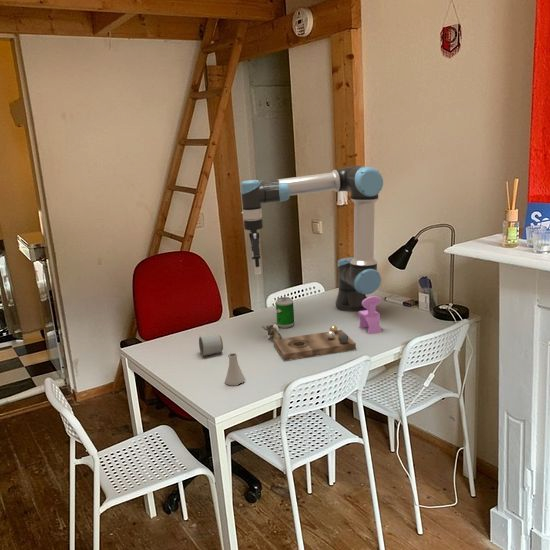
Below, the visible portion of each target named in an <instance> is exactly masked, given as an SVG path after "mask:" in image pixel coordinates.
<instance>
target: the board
mask: <svg viewBox="0 0 550 550" xmlns="http://www.w3.org/2000/svg"><path fill="white" fill-rule="evenodd" d="M328 332H329V331H325V332H319V333H318V332H317V333H311V334H304V335H297V336H292V337H291V336H290V337H284V338H282V339H276V340H274V342H273V346H274V348H275V349H276V351H277V353H278V354H279V353H280V354H279V355H280V357H281V358H282V360H283V359H284V360H286V361H291V360H290V359H292V360H297V359H296V358H299V359H303V358H311V357H317V355H318V356H323V355H330V353H331V354H336V353H341V352H343V353H344V352H349V350H350V351H355V350H354V349H356V348H357V347H356V346H357V345H356V342H355V341H354V340H353V339H352V338H351V337H350V336H348V341H347V342H346V343H341V342H340V341H339V339H338V337H339V335H340V334H342V333H345V332H344V330H342V329H337V332H336V333H335V337H334V338H333V339H329V338H328V337H327V333H328ZM356 350H357V349H356ZM284 360H283V361H284Z"/></svg>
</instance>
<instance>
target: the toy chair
mask: <svg viewBox="0 0 550 550" xmlns="http://www.w3.org/2000/svg"><path fill="white" fill-rule="evenodd" d="M381 301H382V300H381V297H379V296H377V295H375V296H374V295H372V296H368V297H367V298H366V299H364V300H363V301H362V306H363V307H364V308H366V309H364V310H359V311H358V319H359V326H358V329H363V328H368V331H367V335H372V334H377V333H382V332H383V330H382V329H381V326H380V320H381V315H380V314H381V313H380V312H378V311H376V308H377V306H379V304H380V303H381Z"/></svg>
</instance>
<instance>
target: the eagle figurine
mask: <svg viewBox="0 0 550 550" xmlns="http://www.w3.org/2000/svg"><path fill="white" fill-rule="evenodd" d="M261 327H262V329H263V330H265V331H267V340H268V341H269V340H270V339H271V337H272V343H274V340H276V339H283V338H282V335H281V333H280V332H278V331H279V326H278V325H277V323H276V324H275V323H273V324H271V325H269V326H268V325H267V326H266V327H264V325H263V326H261Z"/></svg>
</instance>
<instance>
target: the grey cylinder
mask: <svg viewBox="0 0 550 550" xmlns="http://www.w3.org/2000/svg"><path fill="white" fill-rule="evenodd" d="M198 346H199V352H200V355H201V357H205V356H209V355H210V356H211V355H215V354H220V353H222V352H223V349H224V344H223V338H222V336H221V335H220V334H209V335H207V334H206V335H201V336H199V338H198Z"/></svg>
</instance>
